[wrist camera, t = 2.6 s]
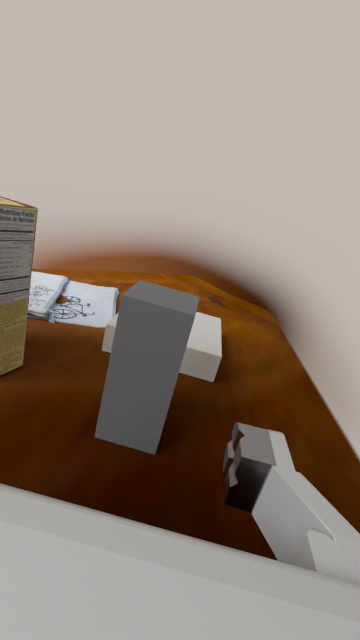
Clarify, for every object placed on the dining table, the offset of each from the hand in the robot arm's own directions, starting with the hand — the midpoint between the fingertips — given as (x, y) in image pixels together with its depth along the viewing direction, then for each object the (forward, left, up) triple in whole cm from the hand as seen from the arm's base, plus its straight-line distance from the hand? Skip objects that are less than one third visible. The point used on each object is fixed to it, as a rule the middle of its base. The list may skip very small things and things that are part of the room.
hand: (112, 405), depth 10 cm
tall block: (0, +13, -12) cm, 18 cm away
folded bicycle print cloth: (-19, +36, -12) cm, 43 cm away
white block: (0, +31, -12) cm, 33 cm away
